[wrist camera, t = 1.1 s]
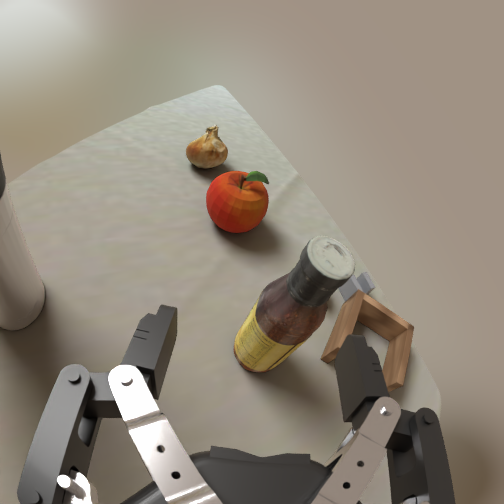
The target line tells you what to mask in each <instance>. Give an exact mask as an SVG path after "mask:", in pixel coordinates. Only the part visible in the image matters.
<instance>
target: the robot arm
mask: <svg viewBox="0 0 504 504" xmlns="http://www.w3.org/2000/svg"><path fill="white" fill-rule="evenodd" d="M44 299H45V288H44V285H43V282H42V280H41V277H40V275H39V273H38V271H37V268H36V266H35V263H34V261H33V259H32V256H31V254H30V251H29V249H28V246H27V243H26V241H25V238H24V235H23V233H22V230H21V227H20V224H19V221H18V218H17V215H16V212H15V209H14V206H13V202H12V199H11V196H10V193H9V189H8V185H7V182H6V178H5V174H4V170H3V165H2V160H1V154H0V327H1V328H3V329H6V330H19V329H22V328H24V327H26V326H28V325H29V324H31V323H32V322H33V321H34V320H35V319H36V318H37V316H38V315H39V313H40V311H41V310H42V307H43V304H44ZM176 336H177V308H175V307H171V306H166V305H161V306H160V307H159V310H158V312H157V314H156V315H153V314H149V313H148V314H147V315H146V316H145V317H143V318H142V319H141V320H140V322H139V324H138V327H137V329H136V331H135V333H134V335H133V338H132V340H131V342H130V344H129V347H128V349H127V351H126V354H125V356H124V358H123V361H122V363H121V364H120V365H119V366H117V367H116V368H114V369H113V370H112V371H110V372H105V373H90V372H88V370H87V369H86V368H85V367H84V366H82V365H79V364H70V365H68V366H66V367H64V368H63V369H62V370H61V372H60V374H59V376H58V378H57V380H56V383H55V385H54V387H53V390H52V392H51V394H50V397H49V399H48V401H47V404H46V406H45V409H44V411H43V414H42V416H41V419H40V422H39V424H38V427H37V430H36V432H35V435H34V438H33V441H32V444H31V447H30V450H29V453H28V456H27V459H26V462H25V465H24V468H23V472H22V475H21V479H20V482H19V486H18V490H17V495H18V499H19V502H20V503H21V504H98V493H97V490H96V488H95V486H94V485H93V484H92V483H91V482H90V481H89V480H87V479H86V477H87V472H88V468H89V464H90V460H91V456H92V452H93V449H94V445H95V441H96V437H97V434H98V430H99V427H100V423H101V420H102V418H123V420H124V422H125V425H126V427H127V429H128V431H129V434H130V436H131V438H132V440H133V442H134V444H135V446H136V448H137V450H138V453H139V455H140V457H141V459H142V461H143V463H144V464H145V466H146V468H147V470H148V472H149V474H150V476H151V478H152V479H153V482H151V483H150V484H148V485H147V486H146V487H144V488H143V489H141V490H140V491H139V492H137V493H136V494H134V495H133V496H131V497H130V498H128V499H127V500H125V501H124V502H122V503H121V504H362V503H361V502H360V501H359V499H360V497H361V496H362V494H363V492H364V491H365V489H366V488H367V486H368V484H369V483H370V481H371V479H372V478H373V476H374V474H375V472H376V471H377V469H378V467H379V465H380V463H381V462H382V460H383V458H384V456H385V454H386V452H387V458H388V467H389V476H390V487H391V499H392V504H455V498H454V492H453V485H452V480H451V474H450V469H449V464H448V459H447V454H446V449H445V445H444V440H443V437H442V432H441V428H440V424H439V420H438V417H437V415H436V414H435V412H434V411H432V410H431V409H429V408H421V409H419V410H418V411H417V412H416V413H414V412H410V411H407V410H403V409H400V406H399V404H398V403H397V402H396V401H395V400H394V399H392V398H390V397H389V393H388V389H387V386H386V382H385V379H384V375H383V372H382V368H381V365H380V362H379V358H378V355H377V354H376V352H375V351H374V350H373V348H372V347H367V343H366V340H365V337H364V336H362V335H352V334H349V335H347V337H346V338H345V340H344V342H343V344H342V346H341V348H340V349H339V351H338V353H337V355H336V359H335V369H336V375H337V381H338V387H339V393H340V400H341V406H342V413H343V420H344V422H352V426H353V427H352V428H351V429H350V430H349V432H348V433H347V435H346V436H345V438H344V439H343V441H342V442H341V444H340V445H339V447H338V448H337V449H336V451H335V452H334V454H333V455H332V456H331V457H330V459H329V460H328V461H327V462H326V463H325V464H324V465H322V464H320V463H318V462H316V461H313V460H310V454H290V453H286V454H281V455H275V456H269V457H258V456H255V455H252V454H249V453H246V452H243V451H240V450H237V449H230V448H223V447H216V446H211V450H210V451H204V452H199V453H195V454H192V455H190V456H188V454H187V453H186V451H185V450H184V448H183V446H182V445H181V443H180V441H179V440H178V438H177V436H176V434H175V433H174V431H173V429H172V427H171V426H170V424H169V422H168V420H167V418H166V417H165V415H164V414H163V413H161V412H160V410H159V408H158V407H157V405H156V403H155V401H154V399H157V400H158V399H159V395H160V392H161V388H162V385H163V381H164V378H165V375H166V371H167V368H168V364H169V361H170V358H171V355H172V351H173V348H174V345H175V341H176Z"/></svg>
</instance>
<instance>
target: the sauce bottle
mask: <svg viewBox="0 0 504 504" xmlns="http://www.w3.org/2000/svg"><path fill="white" fill-rule="evenodd" d="M354 270H355V262H354V258H353V256H352V254H351V253H350V251H349V250H348V249H347V247H346V246H344V245H343V244H342V243H341V242H339V241H337V240H335V239H333V238H331V237H327V236H317V237H315V238H313V239H312V240H310V241H309V242H308V244H307V245H306V246H305V248H304V249H303V251H302V253H301V256H300V260H299V262H298V263H297V265H296V267H295V268H294V269H293V270H292V271H291V272H290V273H288V274H286V275H284V276H282V277H281V278H279V279H277V280H275V281H273V282H271V283H270V284H269V285H267V286H266V288H265V289H264V290H263V291H262V293H261V295H260V296H259V298H258V300H257V302H256V303H255V305H254V307H253V308H252V310H251V312H250V313H249V315H248V317H247V318H246V320H245V322H244V323H243V325H242V327H241V328H240V330H239V332H238V333H237V335H236V338H235V343H234V354H235V356H236V358H237V360H238V362H239V363H240V364H241V365H242V366H243V367H244V368H245V369H246V370H249V371H252V372H267V371H269V370H270V369H273V368H274V367H276V366H277V365H279V364H280V363H281V362H282V361H283V360H285V359H286V358H287V357H288V356H289V355H290V354H292V353H293V352H294V351H295V350H296V349H297V348H298V347H299V346H301V345H302V344H303V343H304V342H305V341H306V340H307V339H308V338H309V337H310V336H311V335H312V333H313V332H314V331H315V330H317V329H318V328H319V327H320V325H321V323H322V322H323V320H324V318H325V314H326V311H327V301H328V299H329V298H330V296H331V295H332V294H333V293H334V292H335V291H336V290H337V288H339V287H341V286H343V285H344V284H345V283H346V282H347V281H348V280H349V279H350V277H351V276H352V275H353V273H354Z"/></svg>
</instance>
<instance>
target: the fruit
mask: <svg viewBox="0 0 504 504" xmlns="http://www.w3.org/2000/svg"><path fill="white" fill-rule="evenodd" d="M262 182H265V183H266V184H269V182H268V179H267V177H266V176H265V175H264V174H262V173H260V172H258V171H254V172H250V173H246V172H241V171H230V172H226V173H224V174H221V175H220V176H218V177H216V178H215V179H214V180H213V181H212V183H211V185H210V187H209V189H208V191H207V196H206V203H207V209H208V213H209V215H210V217H211V219H212V220H213V221H214V223H215V224H216V225H217V226H218V227H220V228H222V229H223V230H225V231H228V232H232V233H241V232H247V231H249V230H251V229H253V228H254V227H256V226H257V225H259V223H260V222H261V220H262V219H263V217H264V216H265V214H266V212H267V208H268V202H269V200H268V193H267V190H266V188H265V187H264V185H263V183H262Z"/></svg>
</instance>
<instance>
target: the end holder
mask: <svg viewBox="0 0 504 504" xmlns="http://www.w3.org/2000/svg"><path fill="white" fill-rule="evenodd" d="M356 320H357V321H359V322H361V323H362V324H364V325H365V326H367V327H368V328H370V329H371V330H373V331H374V332H376V333H378V334H379V335H381V336H382V337H384V338H385V339H387V340H388V341H390V342H389V347H388V351H387V355H386V359H385V363H384V366H383V370H382V372H383V375H384V379H385V382H386V386H387V389H388V392H390V391H392V390H394V389H397V388H399V387H401V386H403V383H404V378H405V374H406V369H407V364H408V359H409V354H410V348H411V343H412V337H413V330H414V327H413V326H412V325H411V324H409V323H408V322H406V321H405V320H403V319H402V318H401V317H399V316H398V315H396V314H395V313H393V312H392V311H390V310H389V309H387V308H386V307H385V306H383V305H382V304H380V303H379V302H377V301H376V300H374V299H373V298H371V297H370V296H368V295H367V294H365V293H364V292H362V291H361V290H359V289H358V290H357V291H356V292H355V293H354V294H353V295H352V296H351V297H350V298H349V299H348V300H347V301H346V302H345V303H343V305H342V308H341V310H340V313H339V315H338V318H337V320H336V323H335V326H334V328H333V331H332V333H331V335H330V338H329V340H328V343H327V345H326V347H325V350H324V352H323V355H322V357H321V360H323V361H324V362H326V363H329V362H331V361H332V360H334V359H335V358H336V355H337V353H338V351H339V349H340V348H341V346H342V344H343V342H344V340H345V338H346V337H347V335H349V334H352V332H353V329H354V326H355V323H356Z"/></svg>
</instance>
